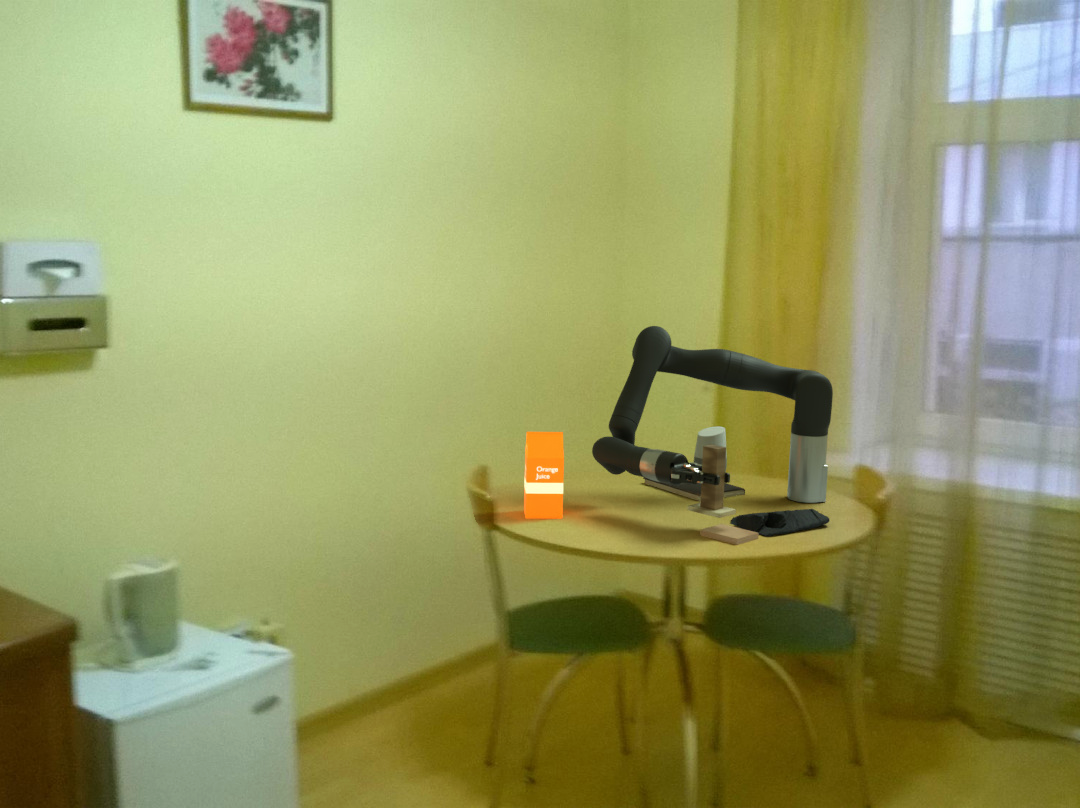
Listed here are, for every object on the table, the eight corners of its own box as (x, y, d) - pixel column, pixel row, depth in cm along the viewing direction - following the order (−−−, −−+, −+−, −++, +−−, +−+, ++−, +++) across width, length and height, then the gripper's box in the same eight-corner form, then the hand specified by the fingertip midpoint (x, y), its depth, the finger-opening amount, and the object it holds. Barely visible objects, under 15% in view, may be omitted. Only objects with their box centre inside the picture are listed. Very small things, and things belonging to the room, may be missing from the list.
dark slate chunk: (839, 530, 247) (840, 510, 246) (762, 540, 238) (763, 519, 237) (797, 515, 261) (798, 496, 260) (722, 523, 252) (723, 503, 251)
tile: (700, 529, 239) (737, 538, 232) (721, 523, 244) (758, 532, 237) (700, 537, 239) (737, 546, 232) (721, 531, 244) (758, 540, 237)
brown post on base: (687, 510, 242) (690, 445, 240) (703, 506, 246) (706, 442, 244) (719, 518, 236) (723, 451, 233) (735, 513, 240) (739, 448, 238)
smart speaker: (687, 473, 304) (689, 425, 302) (715, 471, 308) (717, 424, 306) (703, 480, 296) (705, 431, 294) (732, 478, 299) (734, 429, 297)
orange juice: (562, 518, 251) (564, 435, 248) (525, 518, 250) (527, 434, 247) (559, 510, 259) (561, 429, 256) (523, 510, 258) (525, 428, 255)
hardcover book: (698, 503, 271) (699, 494, 271) (642, 485, 290) (643, 477, 290) (745, 496, 280) (745, 488, 280) (687, 479, 299) (687, 471, 299)
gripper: (645, 454, 244) (705, 467, 232) (683, 447, 254) (743, 459, 242) (643, 486, 246) (703, 500, 233) (681, 478, 255) (741, 491, 243)
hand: (723, 479), depth 238 cm, fingers closed on brown post on base, 3 cm apart
